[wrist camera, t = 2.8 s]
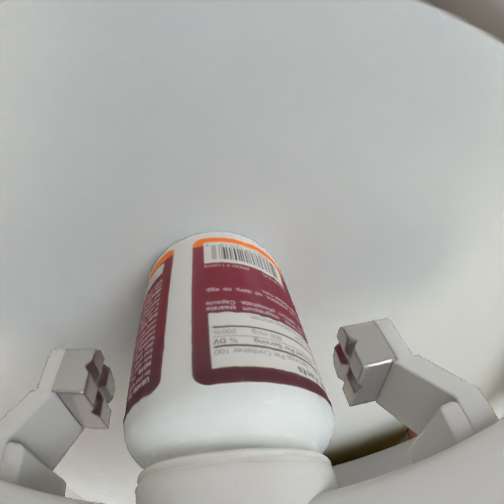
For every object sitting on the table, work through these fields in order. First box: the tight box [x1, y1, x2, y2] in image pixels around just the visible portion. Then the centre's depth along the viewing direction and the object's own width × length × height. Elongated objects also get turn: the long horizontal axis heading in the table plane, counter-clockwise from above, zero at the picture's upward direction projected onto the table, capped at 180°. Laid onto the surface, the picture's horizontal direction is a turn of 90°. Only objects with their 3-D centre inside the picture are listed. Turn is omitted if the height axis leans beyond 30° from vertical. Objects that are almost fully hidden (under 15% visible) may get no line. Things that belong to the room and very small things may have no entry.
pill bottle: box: [123, 232, 339, 504], centre depth 8 cm, size 5×5×8 cm
